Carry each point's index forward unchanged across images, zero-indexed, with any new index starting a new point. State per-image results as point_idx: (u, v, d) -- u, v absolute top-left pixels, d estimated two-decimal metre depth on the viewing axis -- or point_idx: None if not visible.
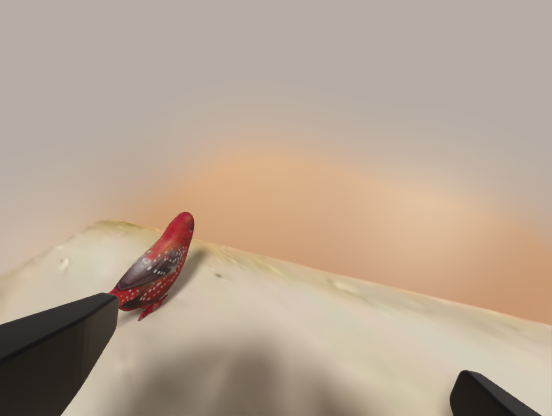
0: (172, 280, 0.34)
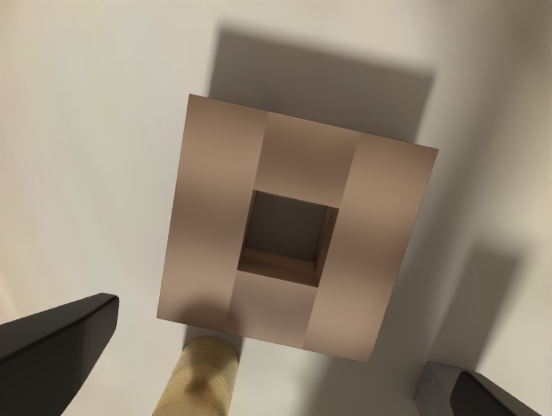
0: None
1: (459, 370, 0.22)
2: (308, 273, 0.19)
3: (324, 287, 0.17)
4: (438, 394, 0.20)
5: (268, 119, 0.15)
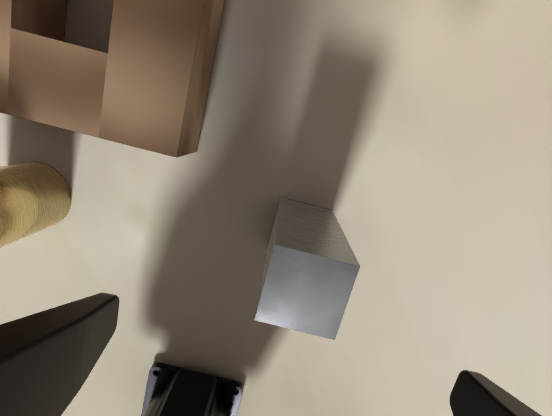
0: None
1: (313, 206, 0.19)
2: None
3: (114, 53, 0.15)
4: None
5: None
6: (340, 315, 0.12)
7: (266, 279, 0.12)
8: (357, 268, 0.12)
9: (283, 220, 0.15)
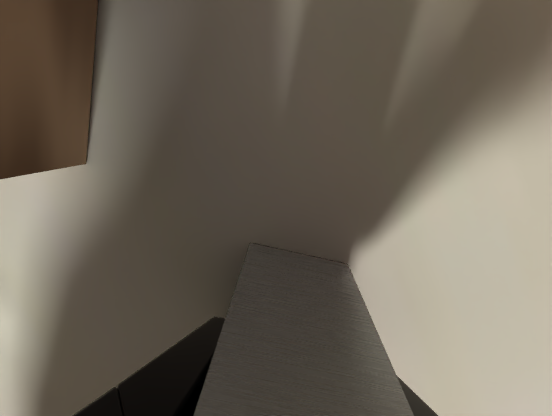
0: None
1: (312, 259, 0.10)
2: None
3: None
4: None
5: None
6: None
7: None
8: None
9: (237, 332, 0.06)
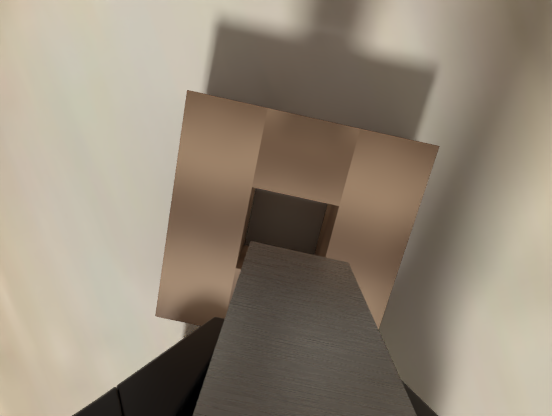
0: None
1: (313, 257, 0.10)
2: None
3: None
4: None
5: (267, 116, 0.15)
6: None
7: None
8: None
9: (237, 329, 0.06)
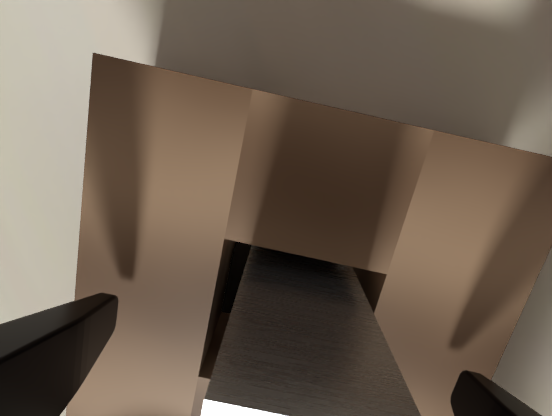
0: None
1: None
2: None
3: None
4: None
5: (252, 105, 0.08)
6: None
7: None
8: None
9: (251, 285, 0.08)
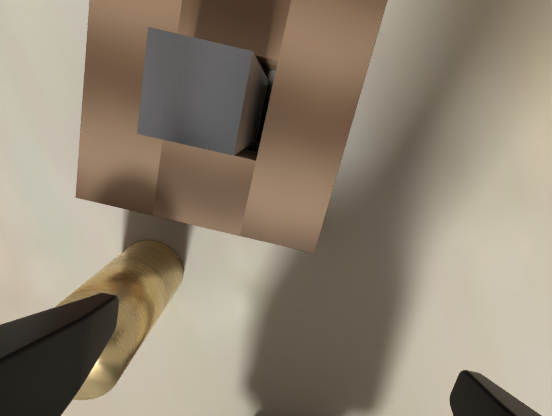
0: None
1: None
2: (250, 155, 0.17)
3: (262, 160, 0.15)
4: None
5: None
6: (236, 120, 0.10)
7: (144, 76, 0.10)
8: (249, 54, 0.10)
9: None
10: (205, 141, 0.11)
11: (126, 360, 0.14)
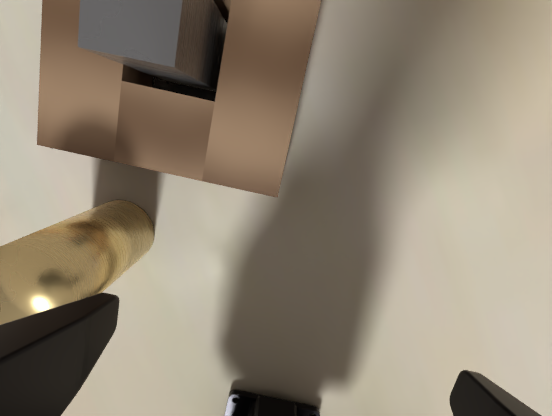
0: None
1: None
2: None
3: (221, 101, 0.15)
4: None
5: None
6: (175, 30, 0.10)
7: None
8: None
9: None
10: (145, 53, 0.11)
11: (80, 296, 0.13)
